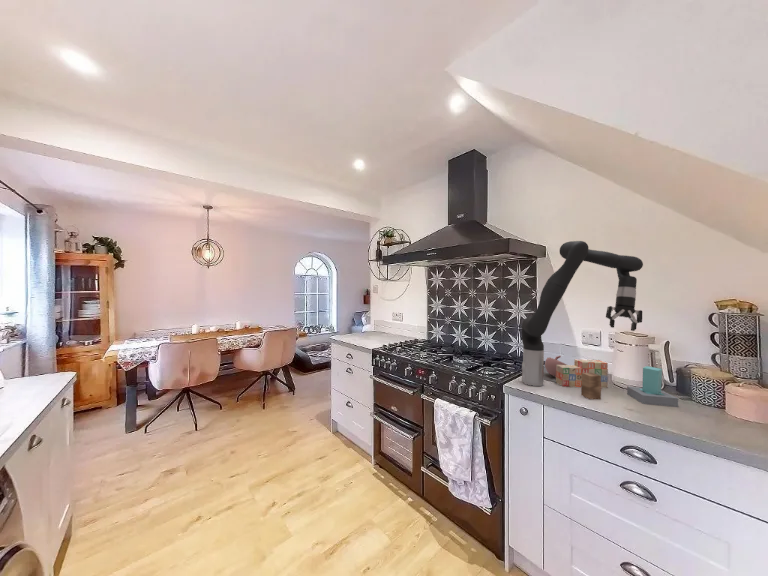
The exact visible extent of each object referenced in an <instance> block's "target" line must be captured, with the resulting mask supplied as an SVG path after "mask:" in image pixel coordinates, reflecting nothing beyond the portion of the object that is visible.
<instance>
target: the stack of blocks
mask: <svg viewBox="0 0 768 576" xmlns="http://www.w3.org/2000/svg"><path fill="white" fill-rule="evenodd" d="M608 366H609V365H608V362H605V361H602V360H601V359H600V360H599V359H579V358H578V359H577V358H576V359H574V363H573V364H567V365H556V377H555V382H556V383H555V384H558V385H560V386H561V387H571V388H573V387H575V388H577V387H578V388H581V373H594V374H597V375H599V376H601V389H602V388H603V389H605V388H608V376H609V369H608Z"/></svg>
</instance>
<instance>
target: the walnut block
mask: <svg viewBox="0 0 768 576" xmlns="http://www.w3.org/2000/svg"><path fill="white" fill-rule="evenodd" d="M580 388H581V391H580V392H581V396H582V397H584V398H586V399H588V400H601V399H602V397H601V396H602V394H601V393H602V388H601V376H599V375H597V374H594V373H581V387H580Z"/></svg>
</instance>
